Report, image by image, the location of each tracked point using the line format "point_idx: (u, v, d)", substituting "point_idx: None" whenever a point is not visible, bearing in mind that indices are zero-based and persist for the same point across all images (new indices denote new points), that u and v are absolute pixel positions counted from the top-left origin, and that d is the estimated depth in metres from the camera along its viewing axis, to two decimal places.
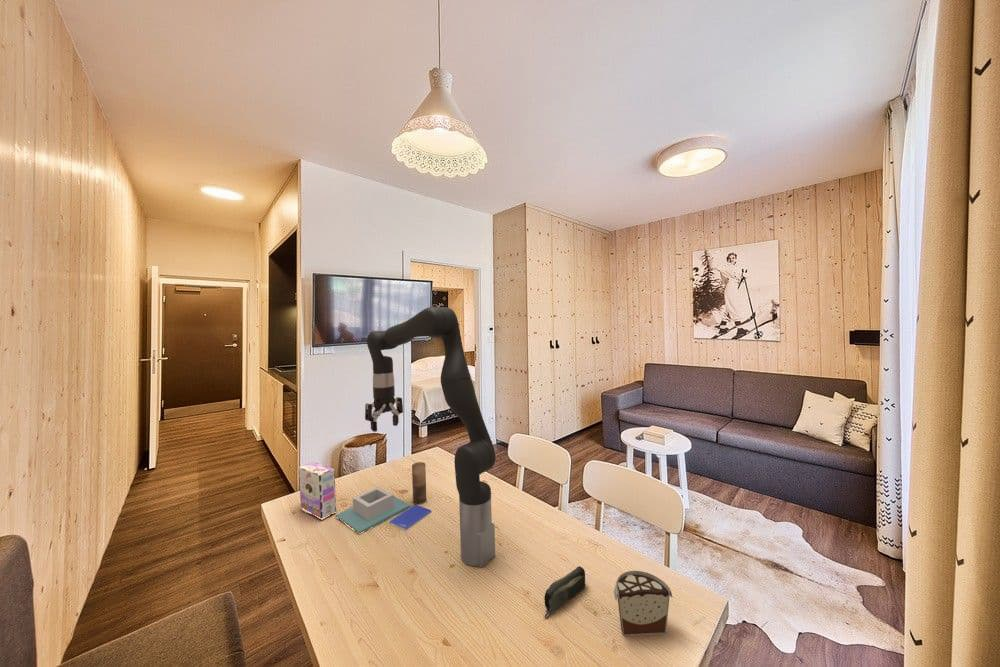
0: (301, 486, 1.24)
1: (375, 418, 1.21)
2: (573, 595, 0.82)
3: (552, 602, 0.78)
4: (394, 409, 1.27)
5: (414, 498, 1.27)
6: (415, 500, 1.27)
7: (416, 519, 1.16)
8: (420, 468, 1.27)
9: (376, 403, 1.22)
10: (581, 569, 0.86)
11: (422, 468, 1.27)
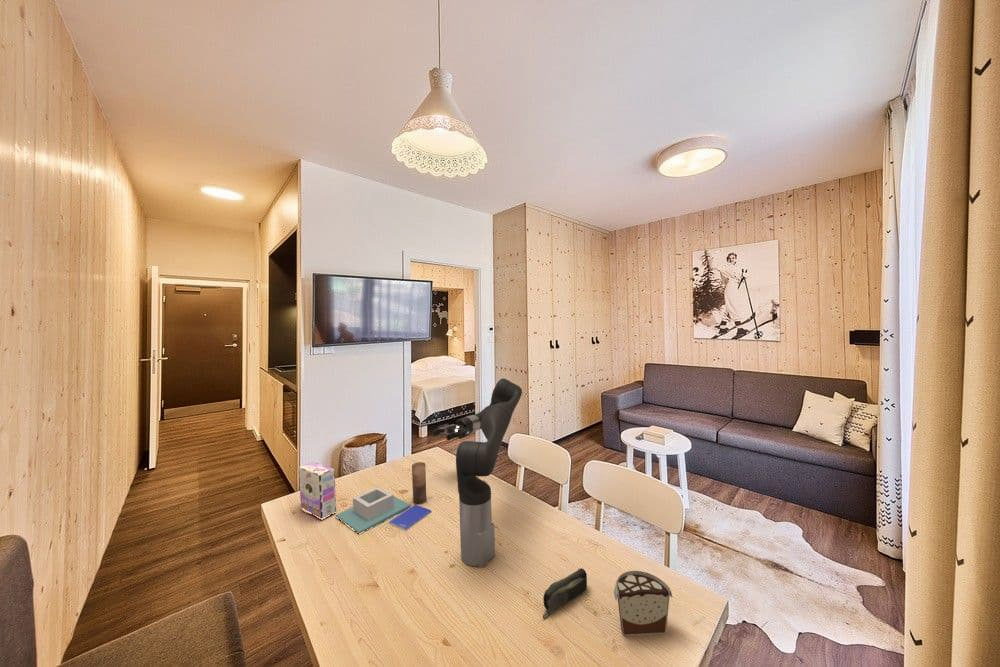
0: (301, 486, 1.24)
1: (441, 427, 1.44)
2: (573, 597, 0.82)
3: (551, 602, 0.78)
4: (456, 428, 1.40)
5: (414, 498, 1.27)
6: (415, 500, 1.27)
7: (416, 519, 1.16)
8: (420, 468, 1.27)
9: None
10: (583, 571, 0.85)
11: (422, 468, 1.27)
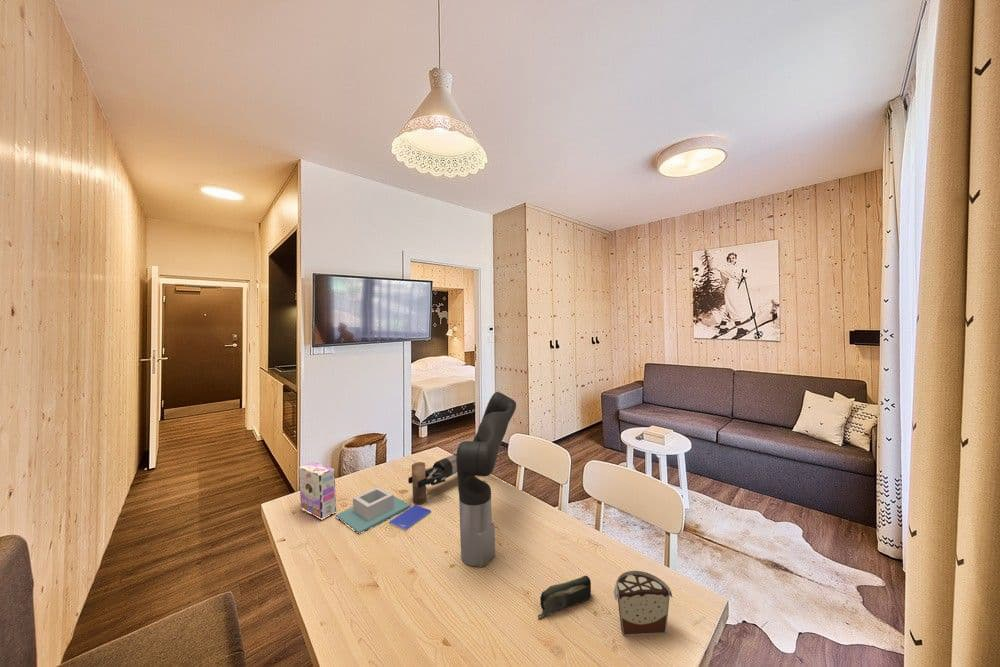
0: (301, 486, 1.24)
1: None
2: (573, 603, 0.80)
3: (547, 604, 0.78)
4: (431, 473, 1.31)
5: (414, 498, 1.27)
6: (415, 500, 1.27)
7: (416, 519, 1.16)
8: (420, 468, 1.27)
9: None
10: (587, 579, 0.83)
11: (422, 468, 1.27)
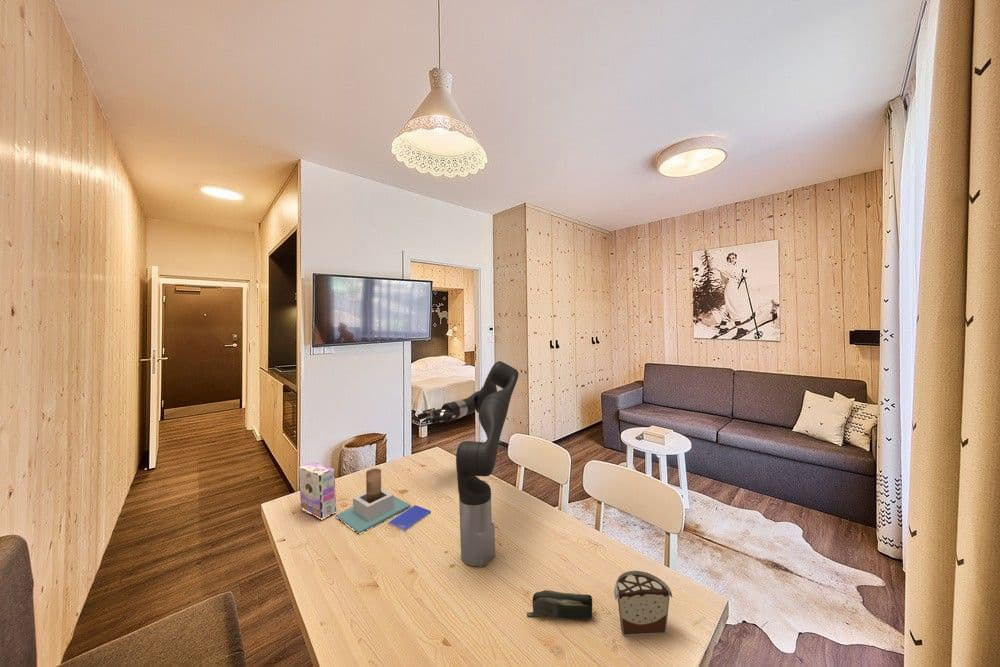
0: (301, 486, 1.24)
1: (427, 411, 1.40)
2: (567, 616, 0.76)
3: (536, 605, 0.77)
4: (442, 412, 1.37)
5: None
6: None
7: (415, 520, 1.15)
8: (374, 475, 1.19)
9: None
10: (588, 598, 0.77)
11: (376, 475, 1.20)
